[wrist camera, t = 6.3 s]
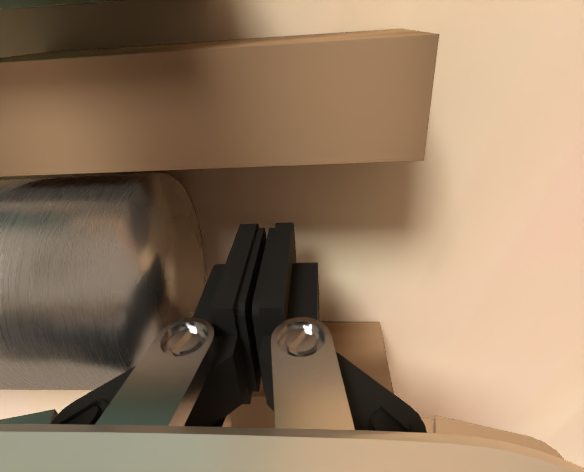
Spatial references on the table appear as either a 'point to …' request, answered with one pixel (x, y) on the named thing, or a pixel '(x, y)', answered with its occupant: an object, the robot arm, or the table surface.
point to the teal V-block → (41, 3)
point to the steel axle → (92, 275)
